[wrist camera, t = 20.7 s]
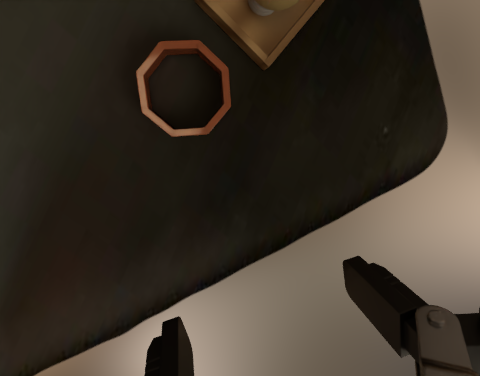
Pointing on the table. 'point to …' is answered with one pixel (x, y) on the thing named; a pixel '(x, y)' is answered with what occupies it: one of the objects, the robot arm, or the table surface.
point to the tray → (259, 26)
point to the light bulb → (270, 6)
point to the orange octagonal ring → (178, 49)
